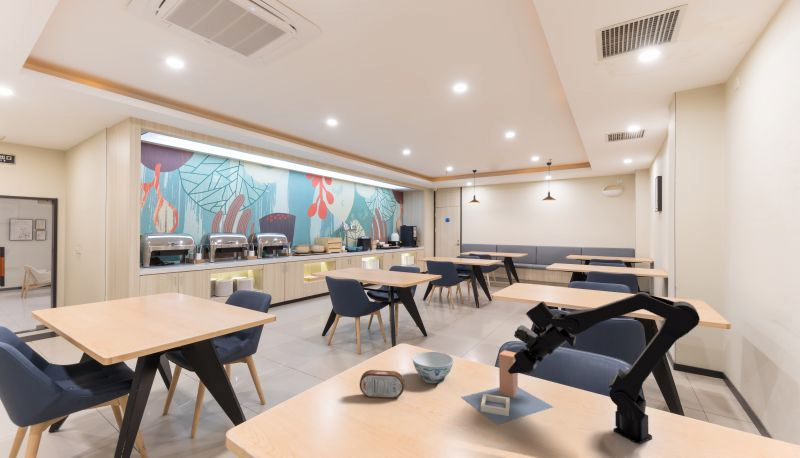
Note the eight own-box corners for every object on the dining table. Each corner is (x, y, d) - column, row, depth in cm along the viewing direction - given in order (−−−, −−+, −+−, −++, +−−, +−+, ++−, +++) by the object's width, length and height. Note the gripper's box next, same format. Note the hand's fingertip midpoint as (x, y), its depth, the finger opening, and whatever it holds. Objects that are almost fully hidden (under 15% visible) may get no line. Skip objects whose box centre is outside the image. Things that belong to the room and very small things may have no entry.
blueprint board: (553, 410, 100) (553, 406, 100) (497, 429, 91) (497, 424, 91) (512, 387, 116) (512, 383, 116) (460, 400, 106) (460, 397, 106)
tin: (404, 395, 110) (404, 370, 110) (404, 400, 107) (404, 374, 107) (360, 393, 111) (360, 368, 112) (358, 398, 108) (358, 372, 108)
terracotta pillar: (517, 392, 109) (517, 353, 110) (513, 397, 106) (512, 357, 106) (504, 388, 112) (504, 350, 112) (499, 393, 109) (499, 354, 109)
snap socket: (509, 402, 103) (509, 397, 103) (509, 416, 95) (508, 410, 95) (483, 398, 105) (483, 393, 105) (480, 411, 98) (480, 405, 98)
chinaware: (405, 375, 126) (405, 355, 126) (439, 368, 132) (439, 349, 132) (425, 392, 112) (425, 369, 112) (461, 383, 118) (461, 362, 119)
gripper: (538, 313, 112) (506, 339, 119) (521, 325, 98) (485, 354, 104) (564, 341, 107) (529, 367, 114) (549, 358, 93) (510, 386, 99)
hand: (513, 367), depth 108 cm, fingers open, 9 cm apart
